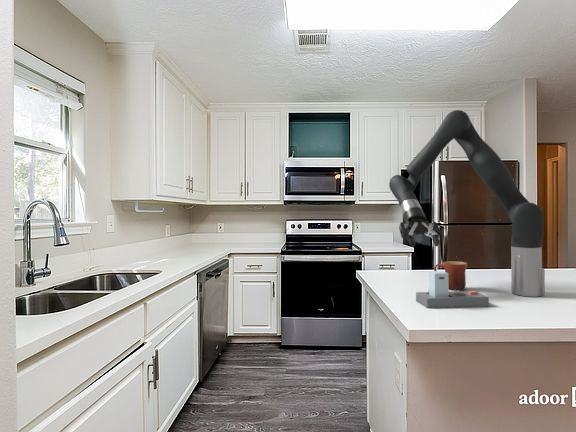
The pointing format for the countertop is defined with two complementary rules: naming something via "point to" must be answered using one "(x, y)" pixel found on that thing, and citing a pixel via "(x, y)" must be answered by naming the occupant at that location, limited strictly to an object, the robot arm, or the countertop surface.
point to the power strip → (453, 299)
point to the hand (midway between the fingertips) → (425, 245)
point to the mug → (455, 274)
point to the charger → (438, 284)
